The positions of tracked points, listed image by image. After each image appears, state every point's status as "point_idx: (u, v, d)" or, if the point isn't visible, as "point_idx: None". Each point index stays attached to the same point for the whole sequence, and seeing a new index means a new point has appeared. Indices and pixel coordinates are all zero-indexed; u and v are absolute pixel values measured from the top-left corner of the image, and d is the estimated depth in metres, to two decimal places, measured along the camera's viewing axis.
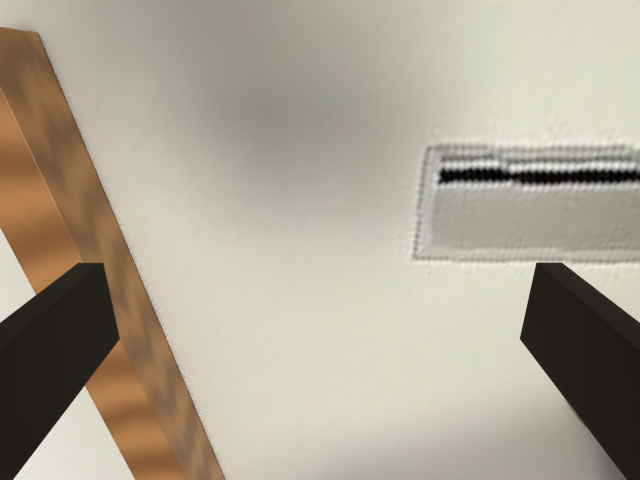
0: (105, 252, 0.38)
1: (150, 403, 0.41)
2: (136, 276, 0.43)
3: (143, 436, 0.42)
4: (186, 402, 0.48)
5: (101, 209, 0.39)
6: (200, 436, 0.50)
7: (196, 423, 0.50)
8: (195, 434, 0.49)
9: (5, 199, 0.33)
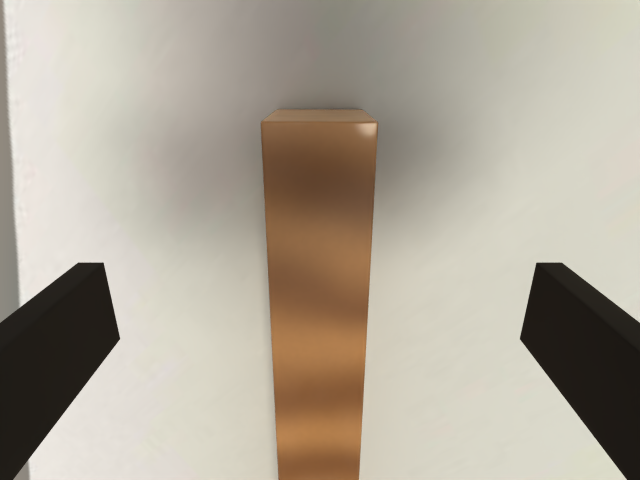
0: None
1: None
2: None
3: None
4: None
5: None
6: None
7: None
8: None
9: (299, 341, 0.23)
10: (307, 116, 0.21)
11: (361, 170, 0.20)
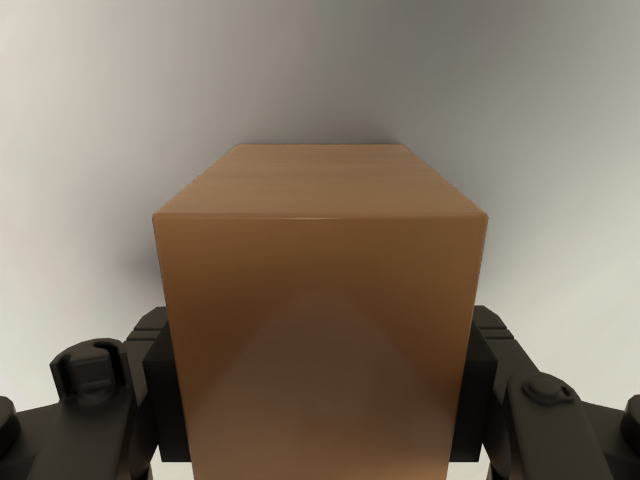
0: None
1: None
2: None
3: None
4: None
5: None
6: None
7: None
8: None
9: None
10: (291, 178, 0.09)
11: (433, 333, 0.07)
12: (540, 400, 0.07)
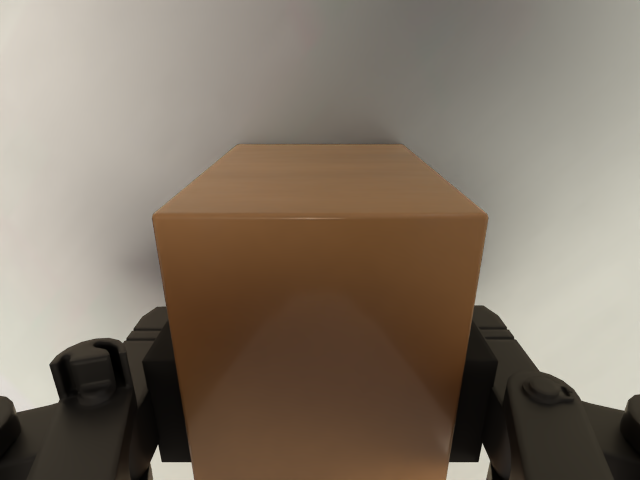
0: None
1: None
2: None
3: None
4: None
5: None
6: None
7: None
8: None
9: None
10: (291, 178, 0.09)
11: (432, 333, 0.07)
12: (540, 400, 0.07)
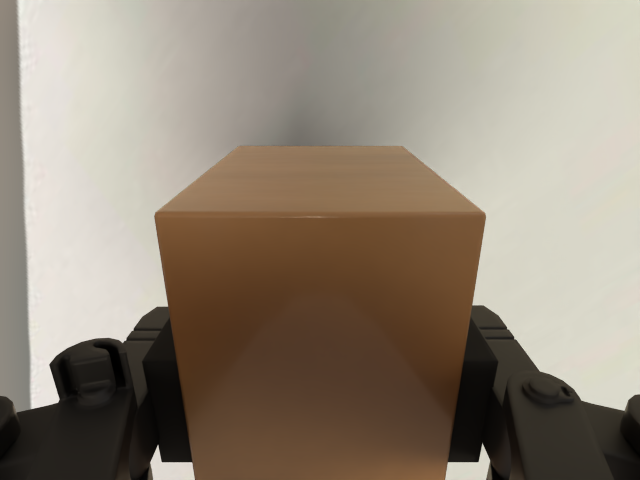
0: None
1: None
2: None
3: None
4: None
5: None
6: None
7: None
8: None
9: None
10: (291, 178, 0.09)
11: (431, 331, 0.07)
12: (540, 400, 0.07)
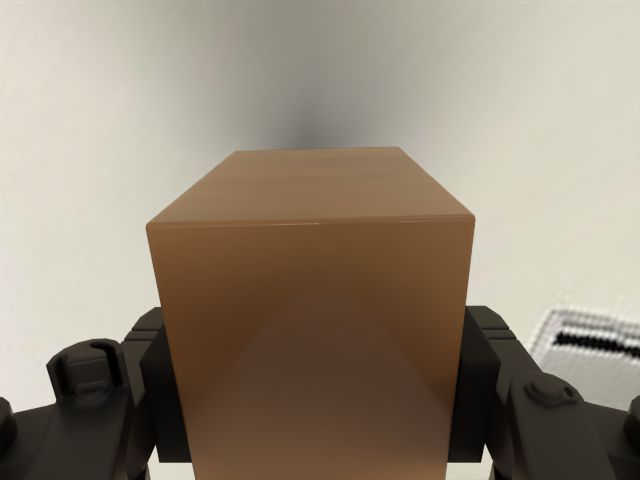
0: None
1: None
2: None
3: None
4: None
5: None
6: None
7: None
8: None
9: None
10: (284, 184, 0.09)
11: (425, 334, 0.07)
12: (543, 400, 0.07)
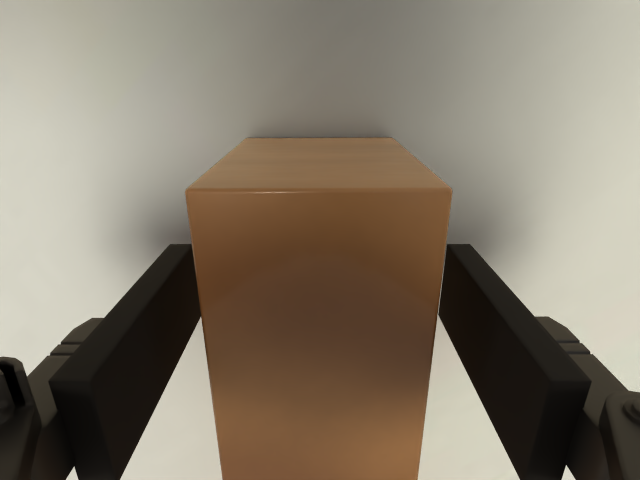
0: None
1: None
2: None
3: None
4: None
5: None
6: None
7: None
8: None
9: None
10: (294, 164, 0.10)
11: (410, 287, 0.09)
12: None
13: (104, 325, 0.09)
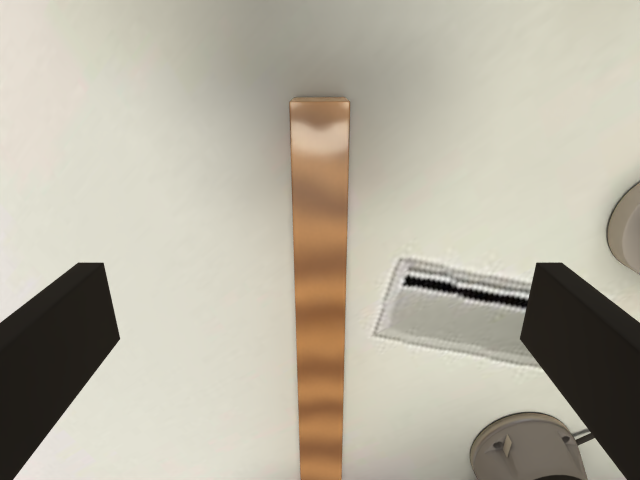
0: None
1: None
2: None
3: (325, 427, 0.51)
4: None
5: None
6: None
7: None
8: None
9: (309, 228, 0.41)
10: None
11: (341, 127, 0.37)
12: None
13: None
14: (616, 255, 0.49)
